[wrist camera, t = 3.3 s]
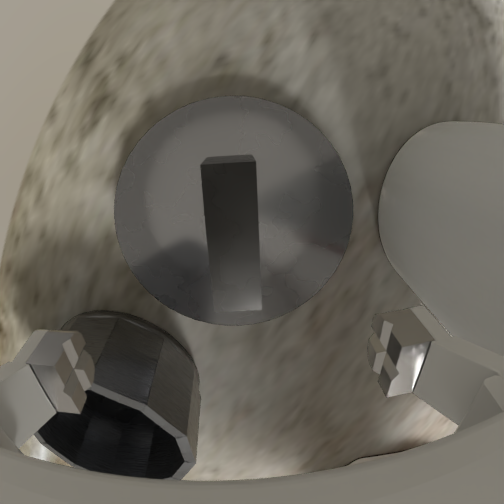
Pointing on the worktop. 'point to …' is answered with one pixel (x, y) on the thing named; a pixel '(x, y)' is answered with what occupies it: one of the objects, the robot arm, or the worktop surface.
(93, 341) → the pot
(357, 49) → the worktop surface
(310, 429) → the worktop surface
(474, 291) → the utensil holder
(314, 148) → the lid
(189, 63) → the worktop surface
